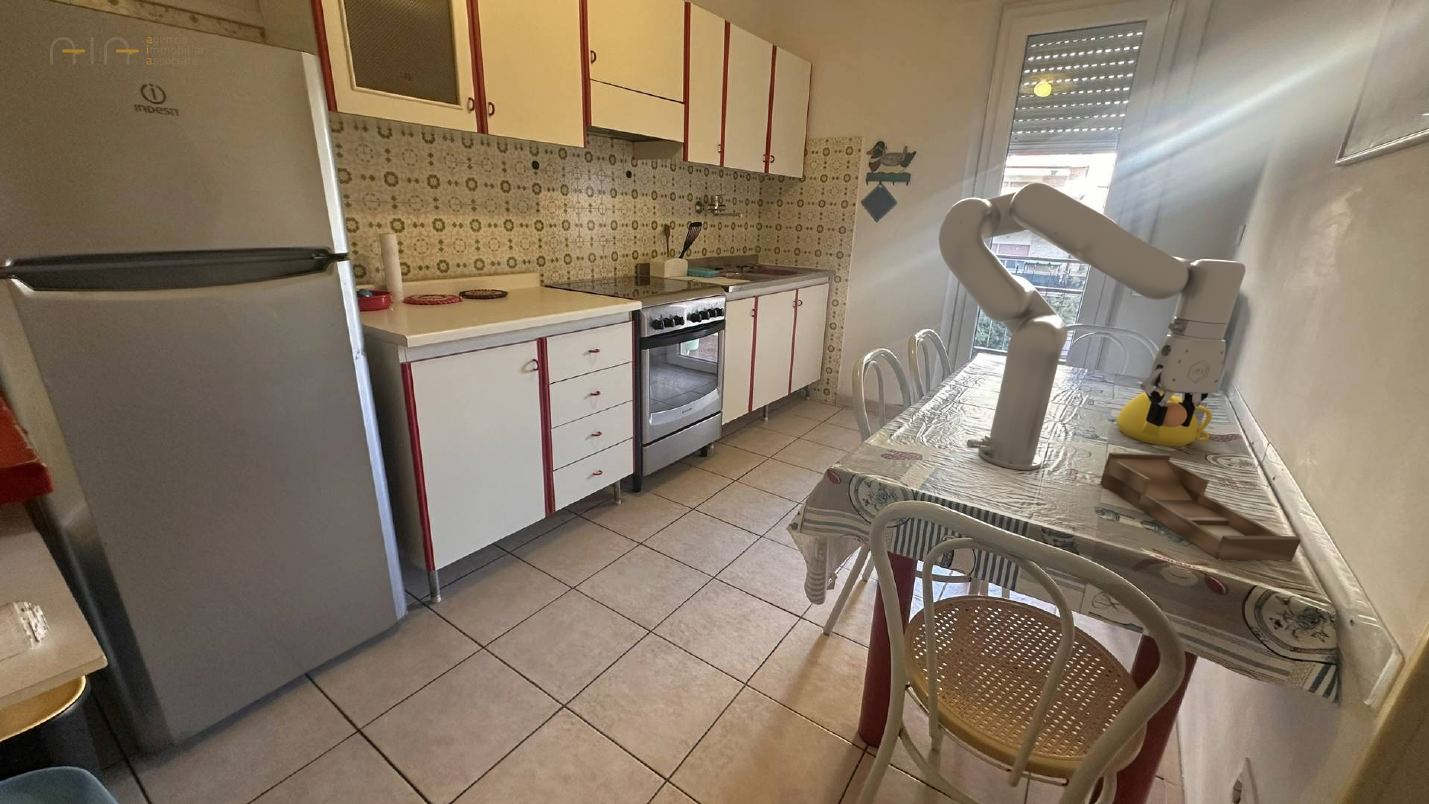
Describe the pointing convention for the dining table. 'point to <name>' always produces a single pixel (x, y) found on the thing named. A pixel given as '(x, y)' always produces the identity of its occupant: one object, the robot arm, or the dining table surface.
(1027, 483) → the dining table surface
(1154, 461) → the lane
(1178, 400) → the teapot
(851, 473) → the dining table surface
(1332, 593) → the dining table surface
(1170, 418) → the ball
